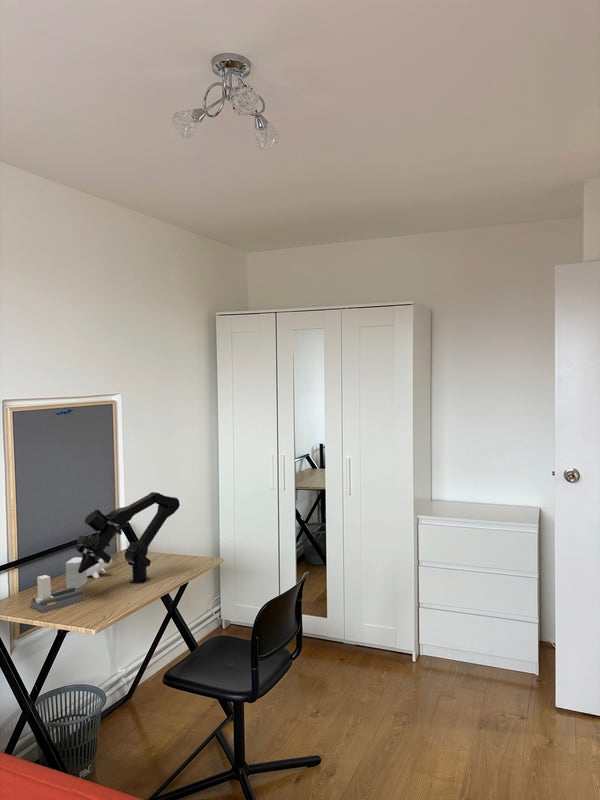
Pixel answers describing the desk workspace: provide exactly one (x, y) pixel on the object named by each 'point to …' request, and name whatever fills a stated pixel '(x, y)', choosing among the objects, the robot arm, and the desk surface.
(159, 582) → the desk surface
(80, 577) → the small box
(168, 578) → the desk surface
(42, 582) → the switch tab
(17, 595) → the desk surface
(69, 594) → the switch base
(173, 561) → the desk surface
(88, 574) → the white toy figurine
